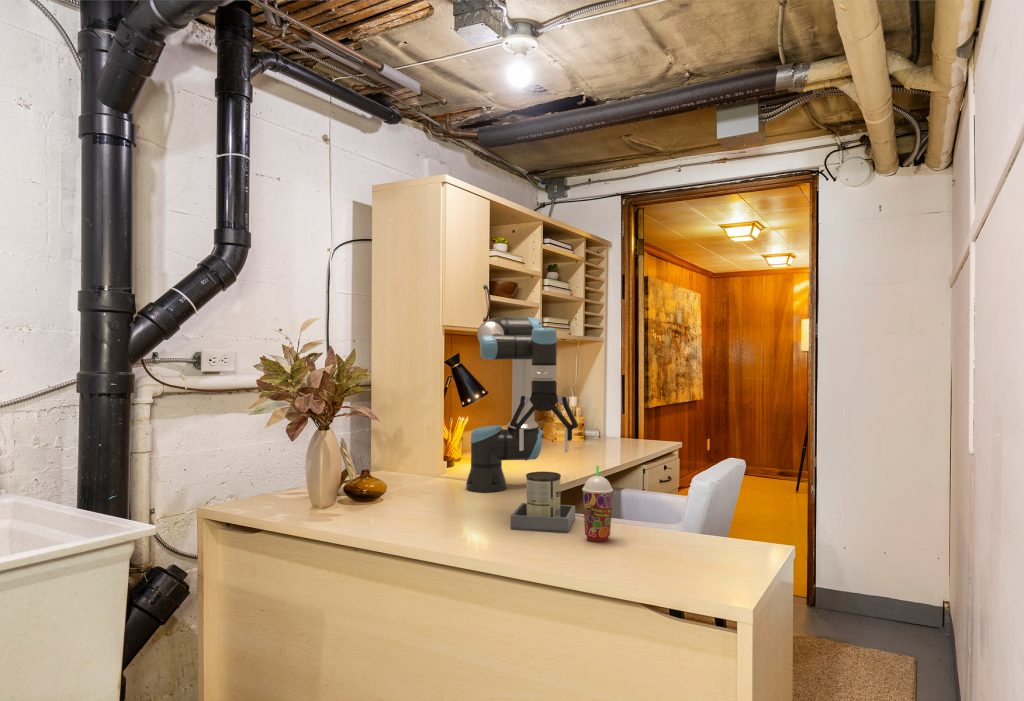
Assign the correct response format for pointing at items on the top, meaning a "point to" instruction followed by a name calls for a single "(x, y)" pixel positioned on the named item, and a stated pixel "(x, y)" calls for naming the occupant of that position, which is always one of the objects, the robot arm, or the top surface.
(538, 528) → the bin
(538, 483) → the coffee can
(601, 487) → the smoothie
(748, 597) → the top surface
